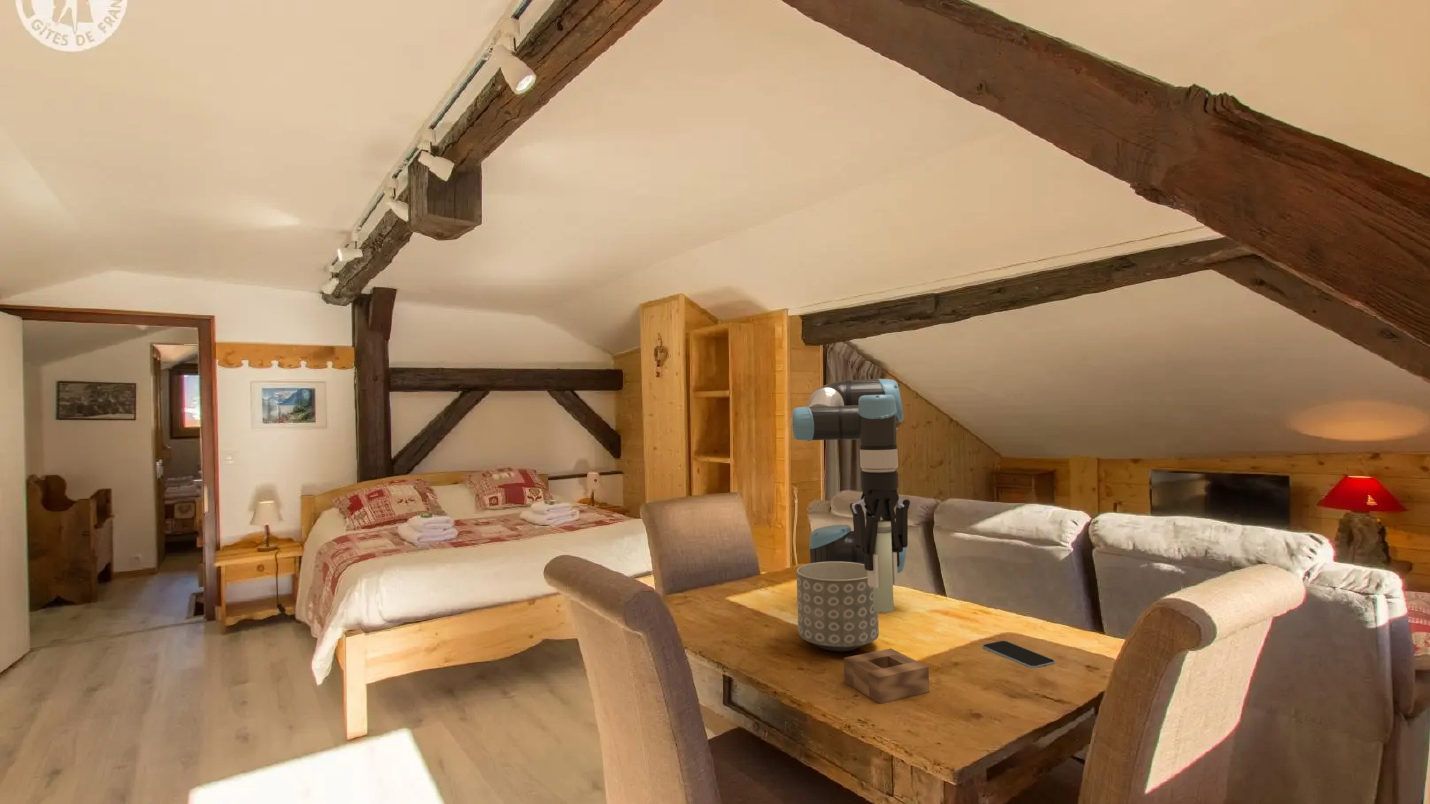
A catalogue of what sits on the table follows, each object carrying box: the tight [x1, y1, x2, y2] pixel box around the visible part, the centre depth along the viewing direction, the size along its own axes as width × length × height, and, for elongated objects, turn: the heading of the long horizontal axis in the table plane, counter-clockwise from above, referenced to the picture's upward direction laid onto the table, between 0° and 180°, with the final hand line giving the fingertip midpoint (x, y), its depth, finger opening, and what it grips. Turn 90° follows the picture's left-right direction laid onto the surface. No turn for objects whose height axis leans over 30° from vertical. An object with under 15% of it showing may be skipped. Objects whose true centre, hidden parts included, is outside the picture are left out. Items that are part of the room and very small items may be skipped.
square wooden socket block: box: [843, 648, 930, 704], centre depth 141 cm, size 12×12×5 cm
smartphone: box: [982, 640, 1056, 669], centre depth 157 cm, size 7×1×15 cm
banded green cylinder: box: [873, 520, 895, 613], centre depth 141 cm, size 4×4×18 cm
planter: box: [796, 562, 880, 653], centre depth 166 cm, size 19×19×18 cm
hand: (882, 584), depth 141 cm, fingers closed on banded green cylinder, 4 cm apart
